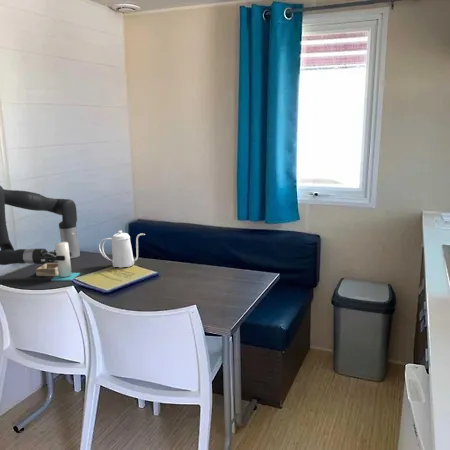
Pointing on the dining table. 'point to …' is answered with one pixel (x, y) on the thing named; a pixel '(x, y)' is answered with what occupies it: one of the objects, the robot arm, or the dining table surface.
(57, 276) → the mat
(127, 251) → the coffeepot
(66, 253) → the white cylinder
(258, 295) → the dining table surface
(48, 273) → the holder
